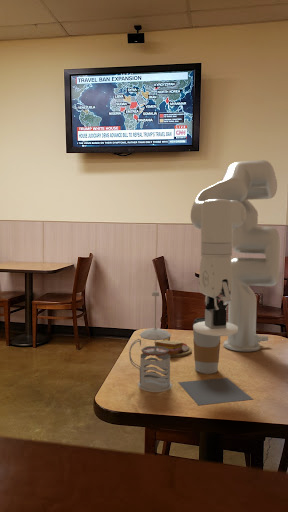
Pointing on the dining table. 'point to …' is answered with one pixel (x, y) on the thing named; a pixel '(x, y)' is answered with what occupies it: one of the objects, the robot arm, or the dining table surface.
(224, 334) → the lid
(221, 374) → the dining table surface
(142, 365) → the french press
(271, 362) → the dining table surface
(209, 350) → the coffee cup
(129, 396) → the dining table surface
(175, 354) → the toy sandwich meal
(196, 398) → the mat
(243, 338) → the robot arm
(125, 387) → the dining table surface
